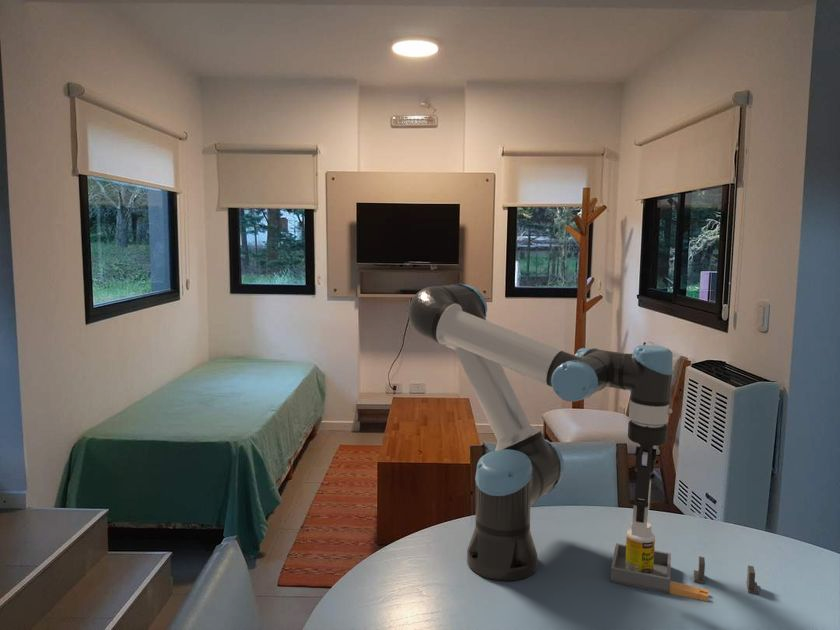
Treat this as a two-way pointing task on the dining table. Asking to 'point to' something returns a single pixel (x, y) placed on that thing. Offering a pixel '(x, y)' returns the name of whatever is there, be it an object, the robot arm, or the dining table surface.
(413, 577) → the dining table surface
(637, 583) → the parts tray
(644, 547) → the supplement bottle
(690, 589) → the fuse puller tool
